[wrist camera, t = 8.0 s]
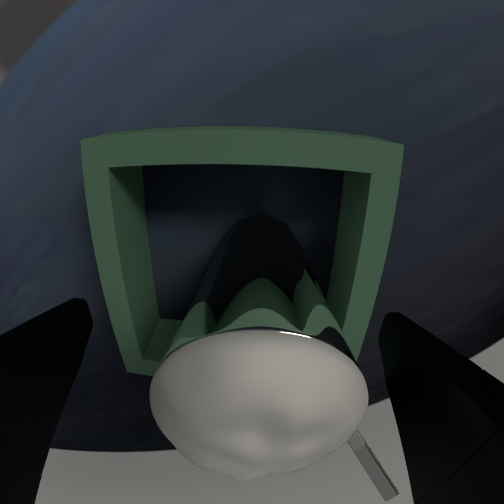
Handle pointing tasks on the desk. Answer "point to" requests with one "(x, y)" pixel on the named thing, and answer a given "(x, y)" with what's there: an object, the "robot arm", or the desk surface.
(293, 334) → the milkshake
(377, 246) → the green square frame
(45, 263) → the desk surface
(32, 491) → the robot arm
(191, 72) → the desk surface
